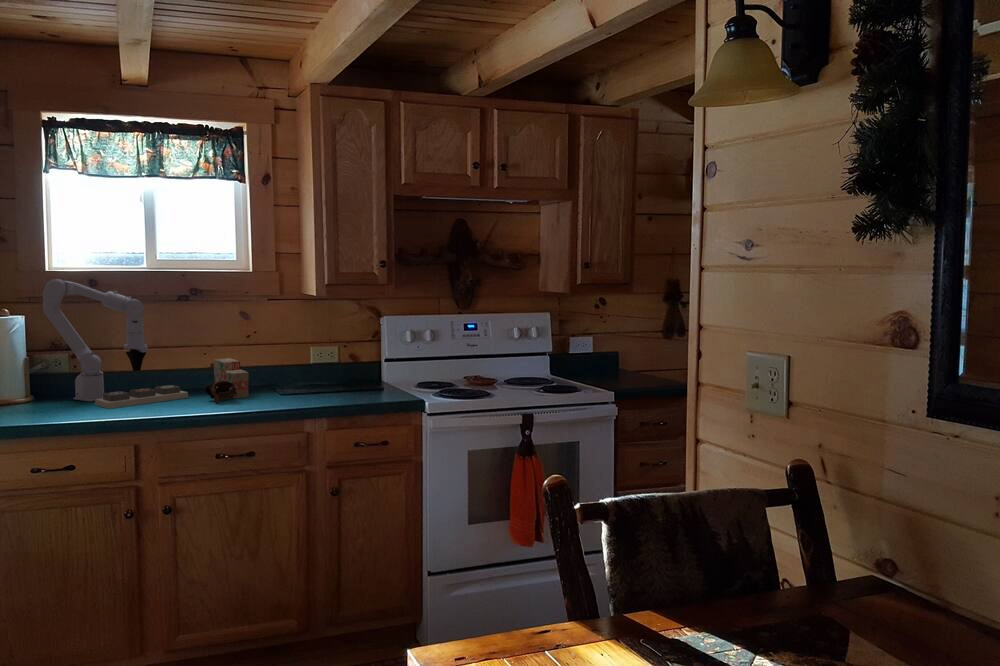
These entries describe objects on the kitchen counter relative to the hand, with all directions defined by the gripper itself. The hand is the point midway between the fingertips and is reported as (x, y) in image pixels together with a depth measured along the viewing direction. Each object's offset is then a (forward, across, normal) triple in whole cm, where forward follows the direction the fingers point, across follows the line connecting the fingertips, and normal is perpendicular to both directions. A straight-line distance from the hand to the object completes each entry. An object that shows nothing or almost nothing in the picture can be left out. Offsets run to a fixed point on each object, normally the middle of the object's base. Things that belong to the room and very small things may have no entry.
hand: (136, 370), depth 287 cm
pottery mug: (+10, -30, -15) cm, 35 cm away
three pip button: (+7, -11, +3) cm, 13 cm away
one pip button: (+7, -11, -6) cm, 14 cm away
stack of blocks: (+10, -19, -26) cm, 34 cm away
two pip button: (+7, -11, +12) cm, 18 cm away
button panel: (+9, -11, +3) cm, 15 cm away
